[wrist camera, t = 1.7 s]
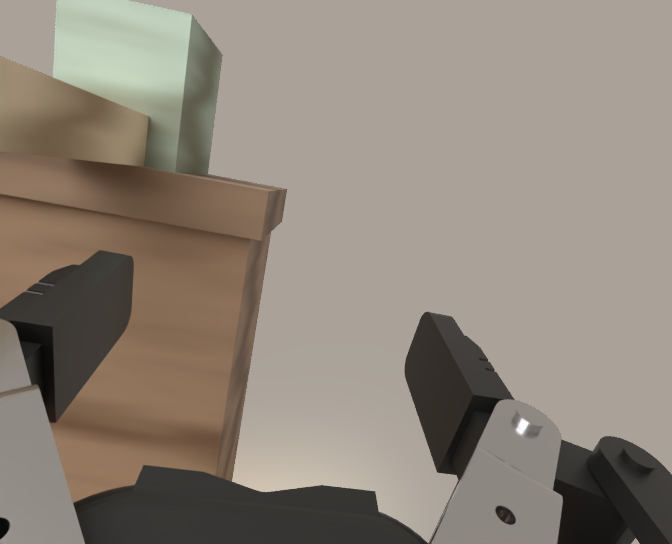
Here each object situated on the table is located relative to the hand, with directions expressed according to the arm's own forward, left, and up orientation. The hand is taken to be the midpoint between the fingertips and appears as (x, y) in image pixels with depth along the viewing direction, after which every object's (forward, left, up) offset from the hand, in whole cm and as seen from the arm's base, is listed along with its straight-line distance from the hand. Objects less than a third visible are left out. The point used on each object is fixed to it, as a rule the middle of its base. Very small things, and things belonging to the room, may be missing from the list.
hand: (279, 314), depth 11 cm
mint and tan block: (-5, +8, +3) cm, 10 cm away
